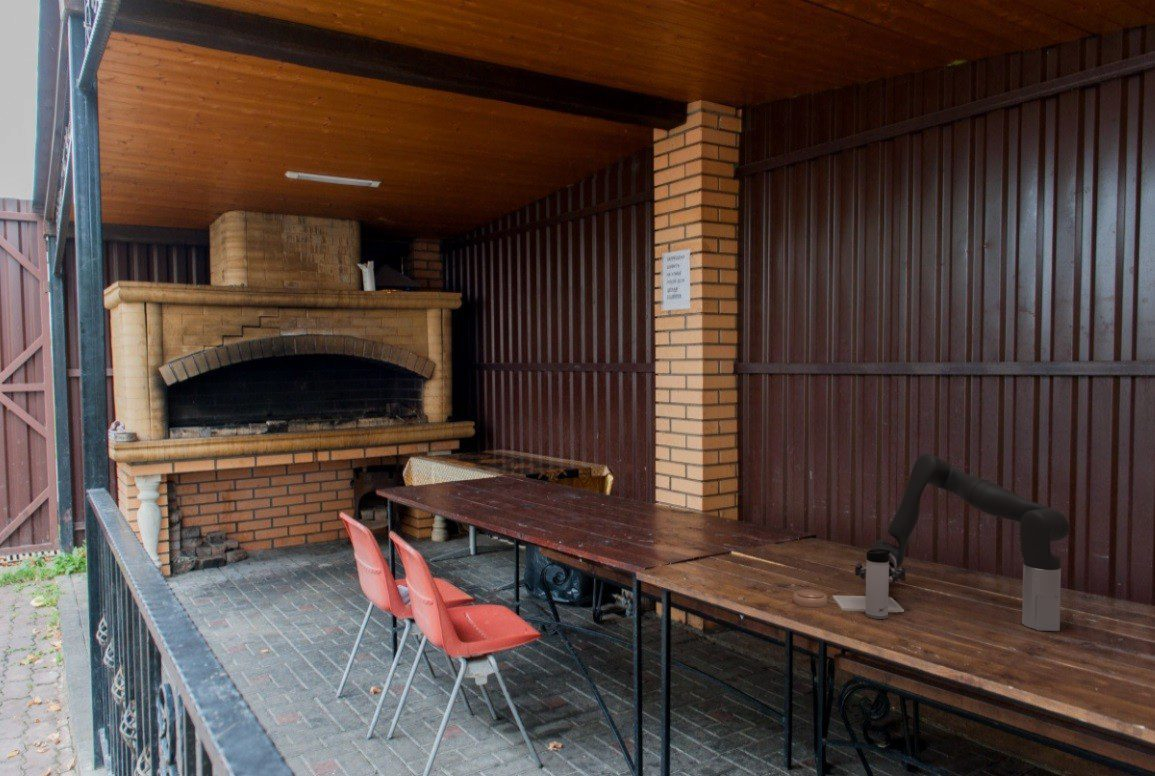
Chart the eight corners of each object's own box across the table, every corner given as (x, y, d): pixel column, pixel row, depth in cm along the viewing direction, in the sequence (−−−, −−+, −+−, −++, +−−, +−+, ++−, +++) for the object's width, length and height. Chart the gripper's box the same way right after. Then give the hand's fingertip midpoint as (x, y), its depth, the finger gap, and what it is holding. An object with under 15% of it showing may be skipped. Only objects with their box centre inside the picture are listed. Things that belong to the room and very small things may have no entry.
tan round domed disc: (830, 607, 245) (830, 598, 245) (796, 606, 246) (796, 597, 246) (823, 598, 255) (823, 588, 255) (791, 597, 256) (791, 587, 256)
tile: (904, 612, 240) (904, 609, 240) (842, 610, 242) (842, 607, 242) (891, 599, 253) (891, 596, 253) (832, 597, 255) (832, 595, 255)
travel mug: (886, 621, 232) (888, 552, 232) (863, 617, 236) (864, 549, 235) (891, 615, 238) (892, 548, 237) (868, 611, 241) (869, 545, 240)
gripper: (859, 550, 256) (853, 562, 241) (907, 555, 250) (904, 567, 235) (859, 574, 256) (852, 587, 241) (907, 579, 250) (904, 593, 235)
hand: (878, 577), depth 238 cm, fingers open, 8 cm apart
